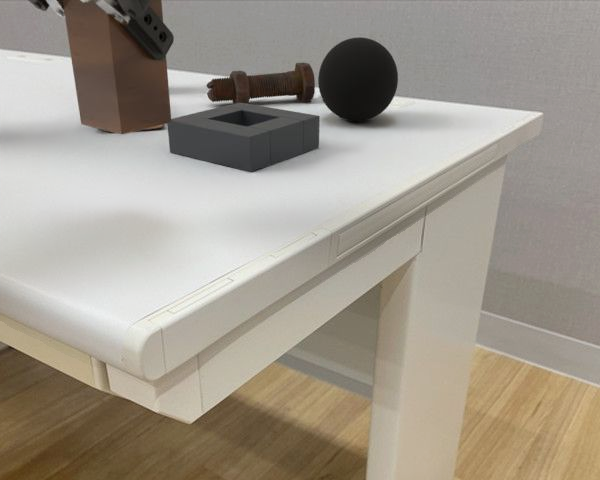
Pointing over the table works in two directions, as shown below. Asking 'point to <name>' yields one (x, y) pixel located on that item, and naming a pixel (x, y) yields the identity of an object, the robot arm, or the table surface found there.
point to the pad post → (114, 72)
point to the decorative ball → (358, 79)
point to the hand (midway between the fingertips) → (138, 46)
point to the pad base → (244, 135)
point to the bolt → (264, 85)
